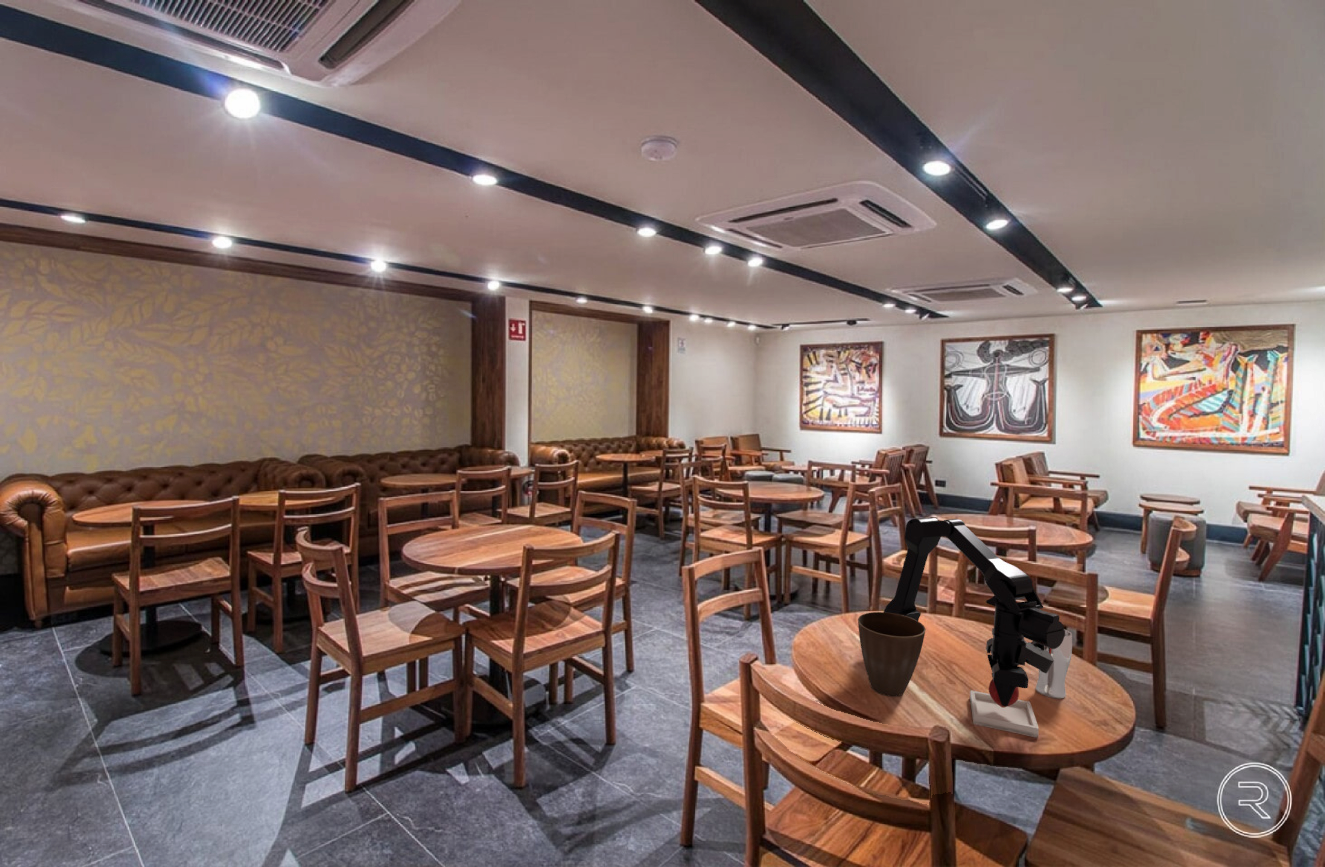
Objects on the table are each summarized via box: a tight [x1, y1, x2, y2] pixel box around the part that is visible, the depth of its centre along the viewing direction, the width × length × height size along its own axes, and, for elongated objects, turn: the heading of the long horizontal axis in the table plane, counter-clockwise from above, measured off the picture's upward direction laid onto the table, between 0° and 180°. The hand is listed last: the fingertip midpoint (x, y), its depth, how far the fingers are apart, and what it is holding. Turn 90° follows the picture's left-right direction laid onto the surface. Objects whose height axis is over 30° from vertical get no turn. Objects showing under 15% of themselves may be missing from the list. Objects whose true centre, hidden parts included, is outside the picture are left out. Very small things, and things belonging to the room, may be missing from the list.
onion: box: [988, 678, 1020, 708], centre depth 136 cm, size 6×6×8 cm
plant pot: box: [857, 611, 926, 697], centre depth 147 cm, size 15×15×16 cm
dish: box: [969, 689, 1040, 739], centre depth 137 cm, size 12×12×2 cm
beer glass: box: [1035, 628, 1073, 700], centre depth 148 cm, size 7×7×15 cm
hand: (1002, 699), depth 137 cm, fingers closed on onion, 6 cm apart
